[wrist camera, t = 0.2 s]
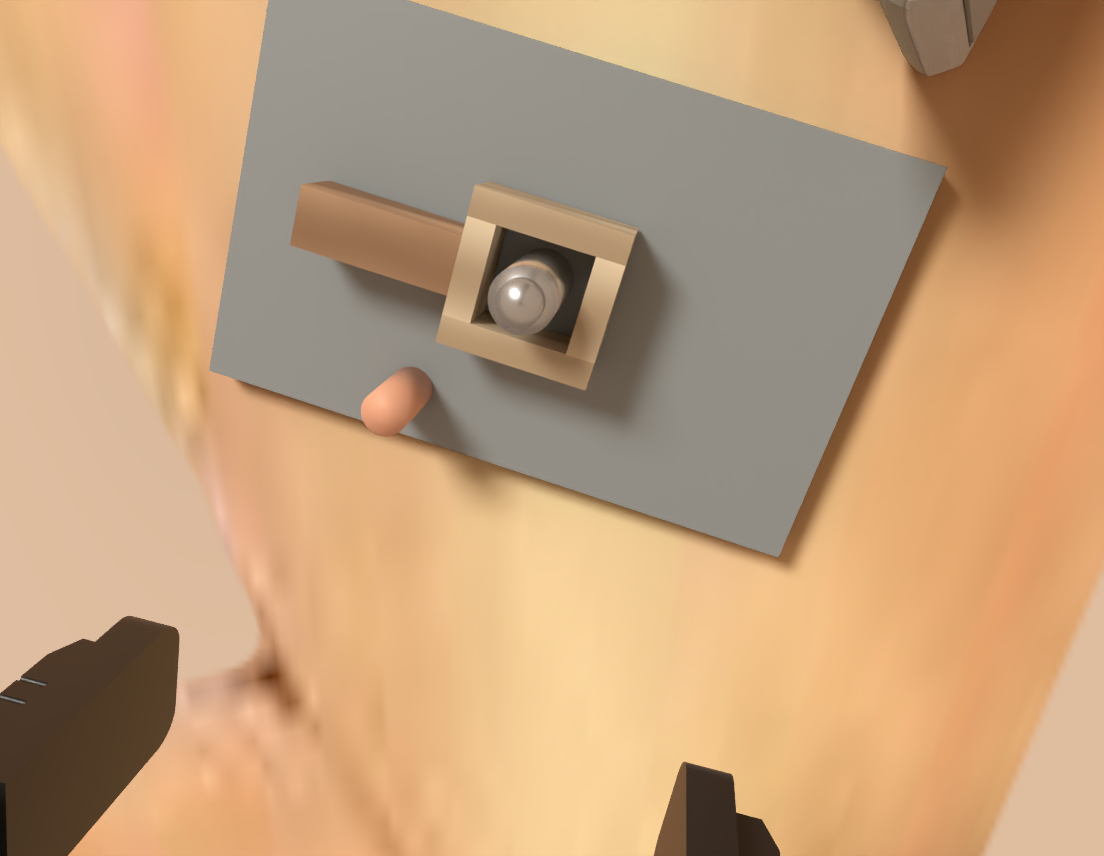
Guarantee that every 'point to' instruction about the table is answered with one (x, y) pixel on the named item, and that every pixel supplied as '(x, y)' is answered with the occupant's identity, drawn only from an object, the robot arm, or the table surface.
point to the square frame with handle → (473, 264)
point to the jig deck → (572, 258)
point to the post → (530, 291)
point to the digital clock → (936, 30)
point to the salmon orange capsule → (396, 401)
